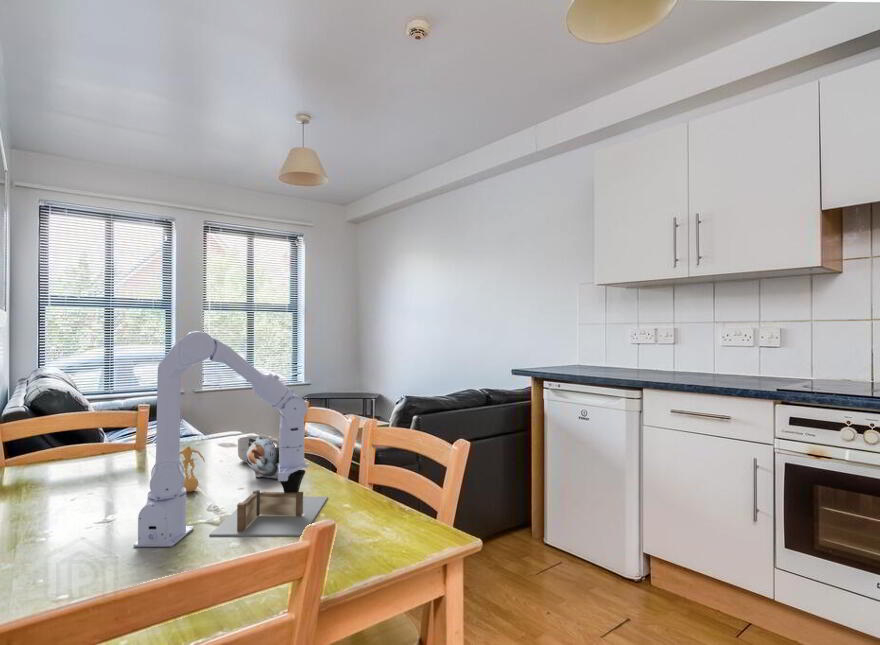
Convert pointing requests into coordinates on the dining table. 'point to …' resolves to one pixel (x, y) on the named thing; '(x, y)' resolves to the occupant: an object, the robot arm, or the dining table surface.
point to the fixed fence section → (248, 511)
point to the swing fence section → (281, 503)
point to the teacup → (244, 445)
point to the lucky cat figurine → (263, 457)
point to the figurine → (191, 482)
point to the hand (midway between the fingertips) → (291, 502)
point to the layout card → (274, 522)
